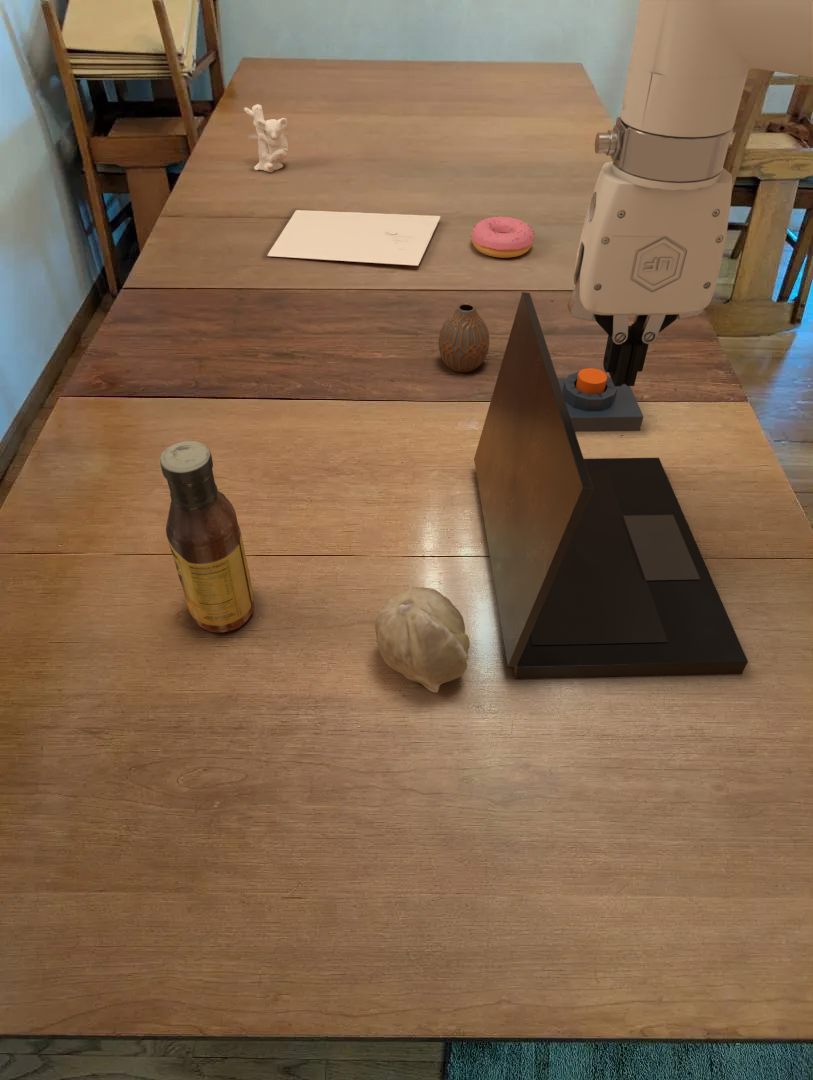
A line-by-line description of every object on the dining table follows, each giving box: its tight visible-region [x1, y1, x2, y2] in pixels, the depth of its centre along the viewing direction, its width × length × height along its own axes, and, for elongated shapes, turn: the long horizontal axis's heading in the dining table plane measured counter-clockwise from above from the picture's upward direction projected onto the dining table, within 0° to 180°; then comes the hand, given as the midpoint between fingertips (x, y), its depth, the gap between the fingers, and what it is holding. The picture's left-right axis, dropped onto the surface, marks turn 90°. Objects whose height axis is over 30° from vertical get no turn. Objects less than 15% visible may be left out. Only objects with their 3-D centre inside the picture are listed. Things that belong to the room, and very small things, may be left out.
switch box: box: [557, 370, 644, 433], centre depth 102 cm, size 12×9×4 cm
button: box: [576, 367, 608, 394], centre depth 100 cm, size 4×4×2 cm
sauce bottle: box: [159, 440, 255, 633], centre depth 70 cm, size 6×6×20 cm
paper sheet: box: [266, 209, 442, 266], centre depth 141 cm, size 24×29×1 cm
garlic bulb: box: [374, 586, 471, 693], centre depth 70 cm, size 9×8×10 cm
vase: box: [438, 302, 490, 373], centre depth 108 cm, size 7×7×9 cm
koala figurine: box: [243, 103, 289, 173], centre depth 161 cm, size 8×7×12 cm
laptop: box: [512, 457, 749, 680], centre depth 83 cm, size 21×30×2 cm
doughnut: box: [470, 215, 535, 259], centre depth 137 cm, size 11×11×4 cm
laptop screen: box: [473, 291, 593, 668], centre depth 74 cm, size 21×30×1 cm
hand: (620, 377), depth 68 cm, fingers closed
